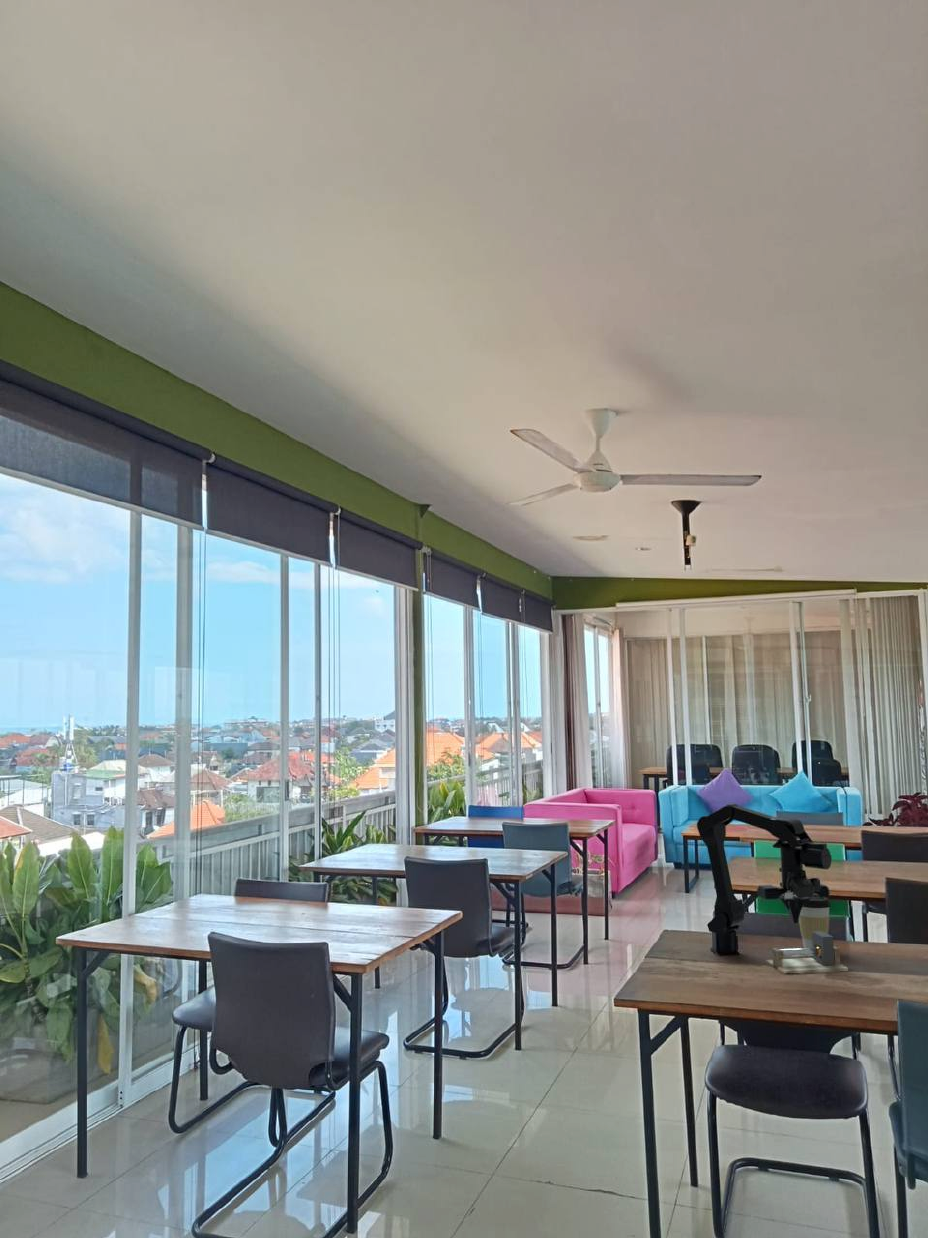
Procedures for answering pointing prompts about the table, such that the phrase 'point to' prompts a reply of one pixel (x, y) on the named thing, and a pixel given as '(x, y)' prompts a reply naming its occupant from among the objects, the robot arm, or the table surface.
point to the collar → (823, 947)
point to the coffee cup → (814, 918)
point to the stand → (805, 964)
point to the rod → (800, 952)
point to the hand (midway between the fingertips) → (794, 923)
